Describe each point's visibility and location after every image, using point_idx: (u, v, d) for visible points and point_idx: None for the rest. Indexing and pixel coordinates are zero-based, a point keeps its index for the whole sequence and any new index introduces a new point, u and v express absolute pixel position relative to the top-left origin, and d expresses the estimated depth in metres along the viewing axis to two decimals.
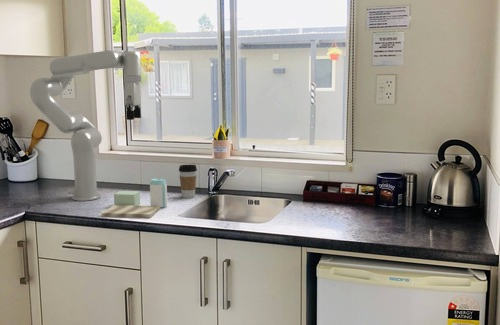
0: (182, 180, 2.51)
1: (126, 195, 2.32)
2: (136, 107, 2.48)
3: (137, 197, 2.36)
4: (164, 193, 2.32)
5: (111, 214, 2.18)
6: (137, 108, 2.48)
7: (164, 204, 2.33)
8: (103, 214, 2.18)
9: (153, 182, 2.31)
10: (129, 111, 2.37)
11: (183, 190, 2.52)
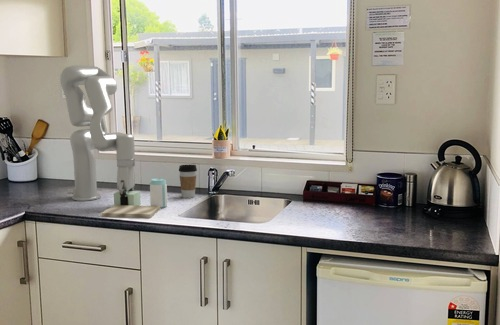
0: (182, 180, 2.51)
1: None
2: (129, 190, 2.40)
3: (137, 197, 2.35)
4: (164, 193, 2.32)
5: (111, 214, 2.18)
6: None
7: (164, 204, 2.33)
8: (103, 214, 2.18)
9: (153, 182, 2.31)
10: (123, 197, 2.31)
11: (183, 190, 2.52)
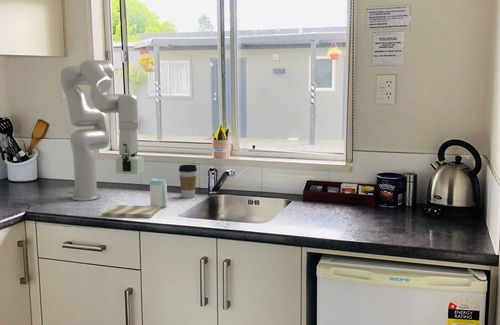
0: (182, 180, 2.51)
1: None
2: None
3: (140, 162, 2.21)
4: (164, 193, 2.32)
5: (111, 214, 2.18)
6: None
7: (164, 204, 2.33)
8: (103, 214, 2.18)
9: (153, 182, 2.31)
10: (125, 162, 2.16)
11: (183, 190, 2.52)
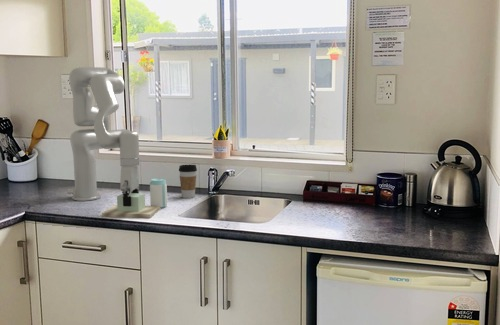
0: (182, 180, 2.51)
1: None
2: (134, 189, 2.28)
3: (142, 200, 2.23)
4: (164, 193, 2.32)
5: (111, 214, 2.18)
6: (135, 190, 2.27)
7: (164, 204, 2.33)
8: (103, 214, 2.18)
9: (153, 182, 2.31)
10: (126, 197, 2.17)
11: (183, 190, 2.52)
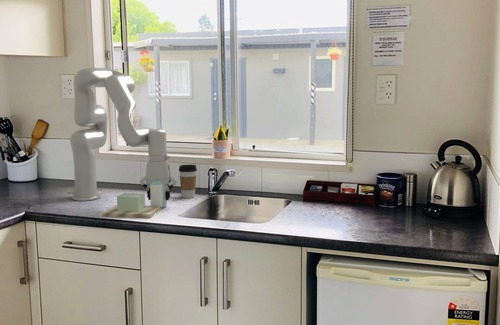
0: (182, 180, 2.51)
1: (130, 197, 2.20)
2: None
3: (142, 200, 2.23)
4: (164, 193, 2.32)
5: (111, 214, 2.18)
6: None
7: (164, 204, 2.33)
8: (103, 214, 2.18)
9: (153, 182, 2.31)
10: None
11: (183, 190, 2.52)
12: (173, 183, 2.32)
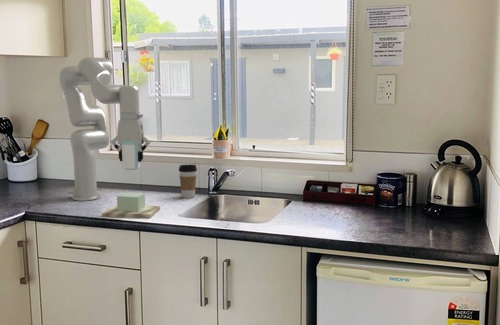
0: (182, 180, 2.51)
1: (130, 197, 2.20)
2: None
3: (142, 200, 2.23)
4: (137, 154, 2.19)
5: (111, 214, 2.18)
6: None
7: (137, 165, 2.20)
8: (103, 214, 2.18)
9: (125, 142, 2.18)
10: None
11: (183, 190, 2.52)
12: (146, 143, 2.19)
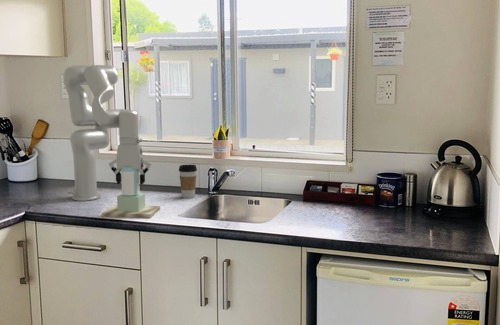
0: (182, 180, 2.51)
1: (130, 197, 2.20)
2: None
3: (142, 200, 2.23)
4: (136, 180, 2.20)
5: (111, 214, 2.18)
6: None
7: (136, 192, 2.21)
8: (103, 214, 2.18)
9: (124, 169, 2.19)
10: None
11: (183, 190, 2.52)
12: (147, 166, 2.20)
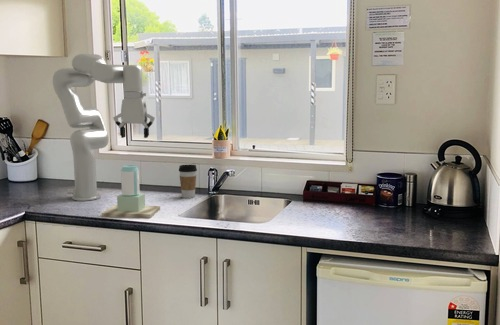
0: (182, 180, 2.51)
1: (130, 197, 2.20)
2: None
3: (142, 200, 2.23)
4: (136, 180, 2.20)
5: (111, 214, 2.18)
6: None
7: (136, 192, 2.21)
8: (103, 214, 2.18)
9: (124, 169, 2.19)
10: None
11: (183, 190, 2.52)
12: (151, 119, 2.24)
